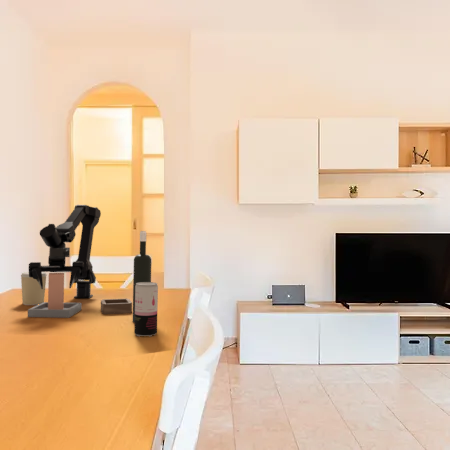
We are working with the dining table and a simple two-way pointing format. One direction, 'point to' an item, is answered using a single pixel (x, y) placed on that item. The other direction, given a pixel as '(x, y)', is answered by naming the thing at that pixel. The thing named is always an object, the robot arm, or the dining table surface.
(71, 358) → the dining table surface
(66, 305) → the grey square tray
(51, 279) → the terracotta block
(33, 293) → the coffee cup
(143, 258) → the wine bottle
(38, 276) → the robot arm
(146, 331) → the beverage can
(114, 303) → the walnut sleeve
